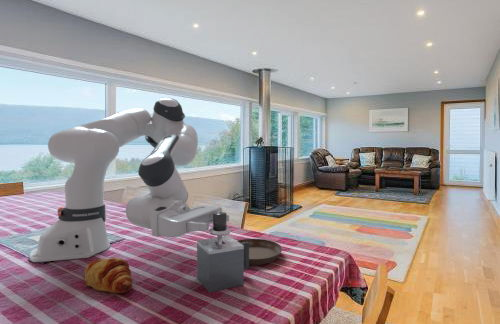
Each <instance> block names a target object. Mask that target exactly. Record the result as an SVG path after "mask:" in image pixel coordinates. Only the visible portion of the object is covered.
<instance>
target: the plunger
mask: <svg viewBox="0 0 500 324" xmlns="http://www.w3.org/2000/svg"><path fill="white" fill-rule="evenodd" d="M227 215H228V213H227V212H224V211H222V212H216V213H213V223H212V227H211V228H210V227H209V229H208V232H209V234H210V235H211V236H216V238H217V245H220V244H222V237H223V236H228V235H229V234H231V228H230V227H227V222H228V221H227Z"/></svg>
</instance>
